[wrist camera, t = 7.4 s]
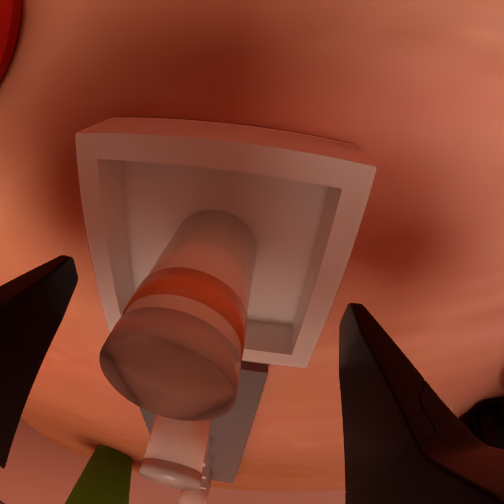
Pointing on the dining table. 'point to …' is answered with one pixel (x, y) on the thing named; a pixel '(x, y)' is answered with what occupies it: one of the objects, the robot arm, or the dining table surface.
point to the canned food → (8, 31)
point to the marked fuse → (187, 322)
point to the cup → (103, 479)
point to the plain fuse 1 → (176, 453)
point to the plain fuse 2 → (196, 495)
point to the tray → (231, 201)
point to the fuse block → (230, 426)
